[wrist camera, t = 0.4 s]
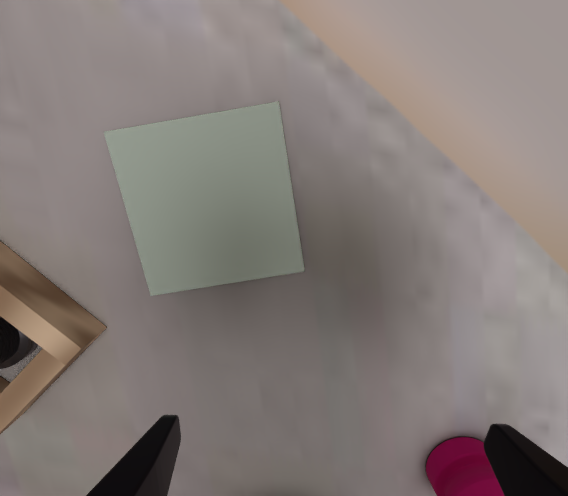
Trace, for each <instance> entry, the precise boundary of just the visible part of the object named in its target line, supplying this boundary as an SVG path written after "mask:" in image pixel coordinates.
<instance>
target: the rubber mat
mask: <svg viewBox="0 0 568 496" xmlns="http://www.w3.org/2000/svg"><path fill="white" fill-rule="evenodd" d="M104 135H105V138H106V142H107V145H108V149H109V152H110V156H111V159H112V163H113V166H114V170H115V173H116V177H117V180H118V184H119V187H120V191H121V194H122V198H123V201H124V205H125V208H126V212H127V215H128V219H129V222H130V226H131V229H132V233H133V236H134V239H135V243H136V246H137V250H138V253H139V257H140V260H141V264H142V267H143V271H144V274H145V278H146V281H147V285H148V288H149V292H150V295H151V296H154V295H160V294H167V293H173V292H179V291H185V290H192V289H198V288H204V287H210V286H217V285H223V284H229V283H236V282H242V281H248V280H254V279H261V278H267V277H273V276H280V275H286V274H292V273H298V272H305V270H304V263H303V256H302V250H301V243H300V237H299V230H298V224H297V217H296V211H295V204H294V198H293V191H292V185H291V178H290V172H289V165H288V158H287V152H286V145H285V139H284V132H283V126H282V119H281V113H280V106H279V101H278V102H273V103H267V104H261V105H255V106H250V107H244V108H238V109H232V110H227V111H221V112H215V113H209V114H204V115H198V116H192V117H186V118H181V119H175V120H169V121H164V122H158V123H152V124H146V125H141V126H135V127H129V128H123V129H118V130H112V131H106V132H104Z"/></svg>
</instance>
